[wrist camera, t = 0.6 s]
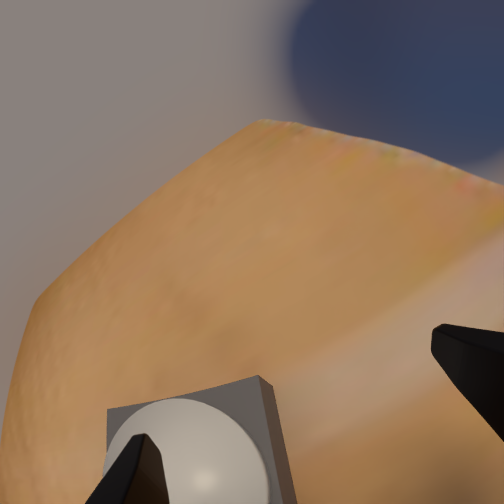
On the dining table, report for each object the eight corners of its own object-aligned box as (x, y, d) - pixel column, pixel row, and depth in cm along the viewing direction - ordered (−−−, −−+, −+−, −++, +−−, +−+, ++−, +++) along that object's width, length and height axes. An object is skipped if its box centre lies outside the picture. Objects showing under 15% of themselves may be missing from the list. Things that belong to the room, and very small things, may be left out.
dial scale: (309, 561, 12) (293, 577, 9) (134, 555, 14) (101, 557, 12) (272, 386, 22) (252, 370, 20) (124, 418, 25) (94, 406, 22)
